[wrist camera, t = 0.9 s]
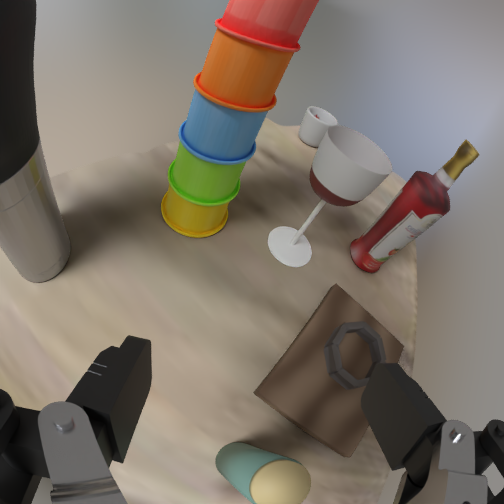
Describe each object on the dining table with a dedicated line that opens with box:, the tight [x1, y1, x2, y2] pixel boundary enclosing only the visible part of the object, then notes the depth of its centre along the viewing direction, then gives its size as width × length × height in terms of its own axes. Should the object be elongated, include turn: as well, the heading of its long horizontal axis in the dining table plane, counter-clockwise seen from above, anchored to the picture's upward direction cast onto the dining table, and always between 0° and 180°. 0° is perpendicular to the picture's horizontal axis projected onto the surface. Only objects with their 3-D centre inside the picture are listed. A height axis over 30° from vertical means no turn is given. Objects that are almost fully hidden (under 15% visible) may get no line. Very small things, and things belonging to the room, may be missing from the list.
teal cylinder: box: [216, 442, 311, 504], centre depth 19 cm, size 5×5×13 cm
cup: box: [299, 106, 340, 147], centre depth 61 cm, size 11×8×8 cm
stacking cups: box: [161, 0, 319, 238], centre depth 27 cm, size 10×10×35 cm
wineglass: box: [268, 125, 392, 267], centre depth 35 cm, size 8×9×20 cm
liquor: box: [350, 140, 479, 273], centre depth 36 cm, size 7×7×28 cm
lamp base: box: [254, 284, 404, 457], centre depth 33 cm, size 16×20×4 cm
